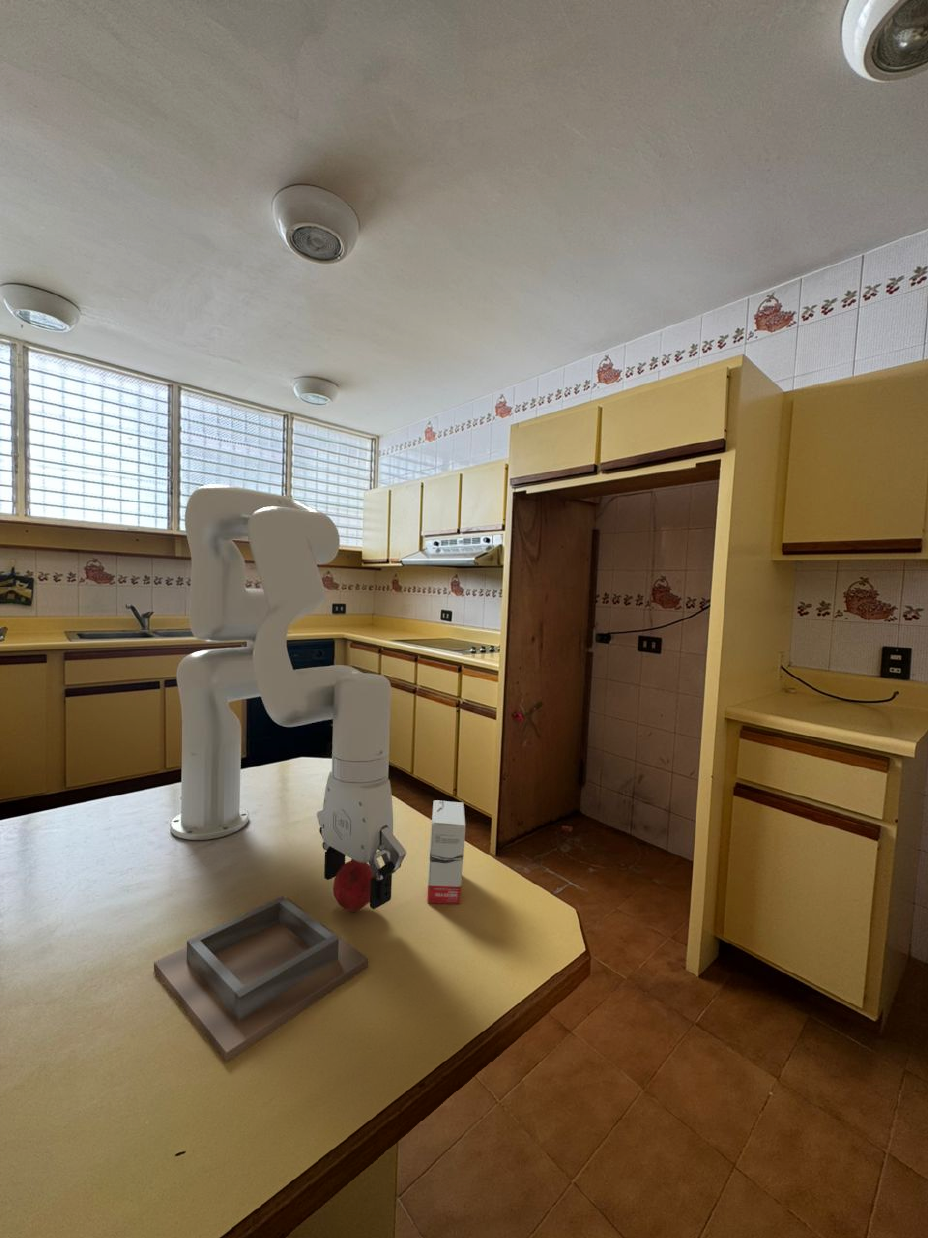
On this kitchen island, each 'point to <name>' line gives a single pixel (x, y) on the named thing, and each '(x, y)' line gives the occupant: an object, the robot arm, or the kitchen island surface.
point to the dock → (257, 973)
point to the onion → (353, 885)
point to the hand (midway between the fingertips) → (356, 889)
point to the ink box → (446, 852)
